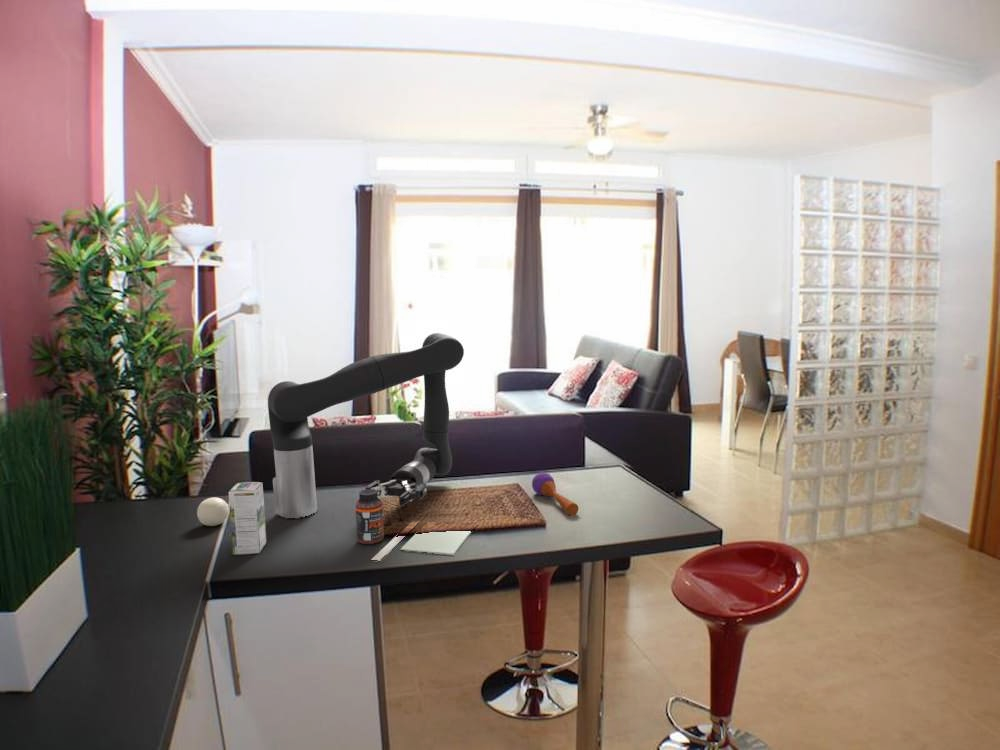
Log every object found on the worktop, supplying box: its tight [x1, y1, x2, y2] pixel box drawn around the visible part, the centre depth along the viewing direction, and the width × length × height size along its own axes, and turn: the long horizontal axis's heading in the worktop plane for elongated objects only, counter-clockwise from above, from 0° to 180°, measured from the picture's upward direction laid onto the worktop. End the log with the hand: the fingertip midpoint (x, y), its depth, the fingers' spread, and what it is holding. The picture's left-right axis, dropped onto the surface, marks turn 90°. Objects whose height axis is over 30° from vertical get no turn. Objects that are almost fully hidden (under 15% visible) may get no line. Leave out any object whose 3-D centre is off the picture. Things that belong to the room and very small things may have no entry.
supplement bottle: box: [355, 489, 385, 545], centre depth 147 cm, size 6×6×11 cm
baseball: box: [196, 496, 230, 527], centre depth 159 cm, size 7×7×7 cm
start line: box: [371, 535, 406, 562], centre depth 147 cm, size 2×22×1 cm, turn 165°
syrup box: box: [228, 481, 268, 556], centre depth 143 cm, size 6×6×14 cm
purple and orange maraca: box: [531, 472, 579, 516], centre depth 168 cm, size 6×6×20 cm
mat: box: [400, 531, 472, 556], centre depth 147 cm, size 12×16×1 cm
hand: (383, 500), depth 154 cm, fingers open, 8 cm apart
